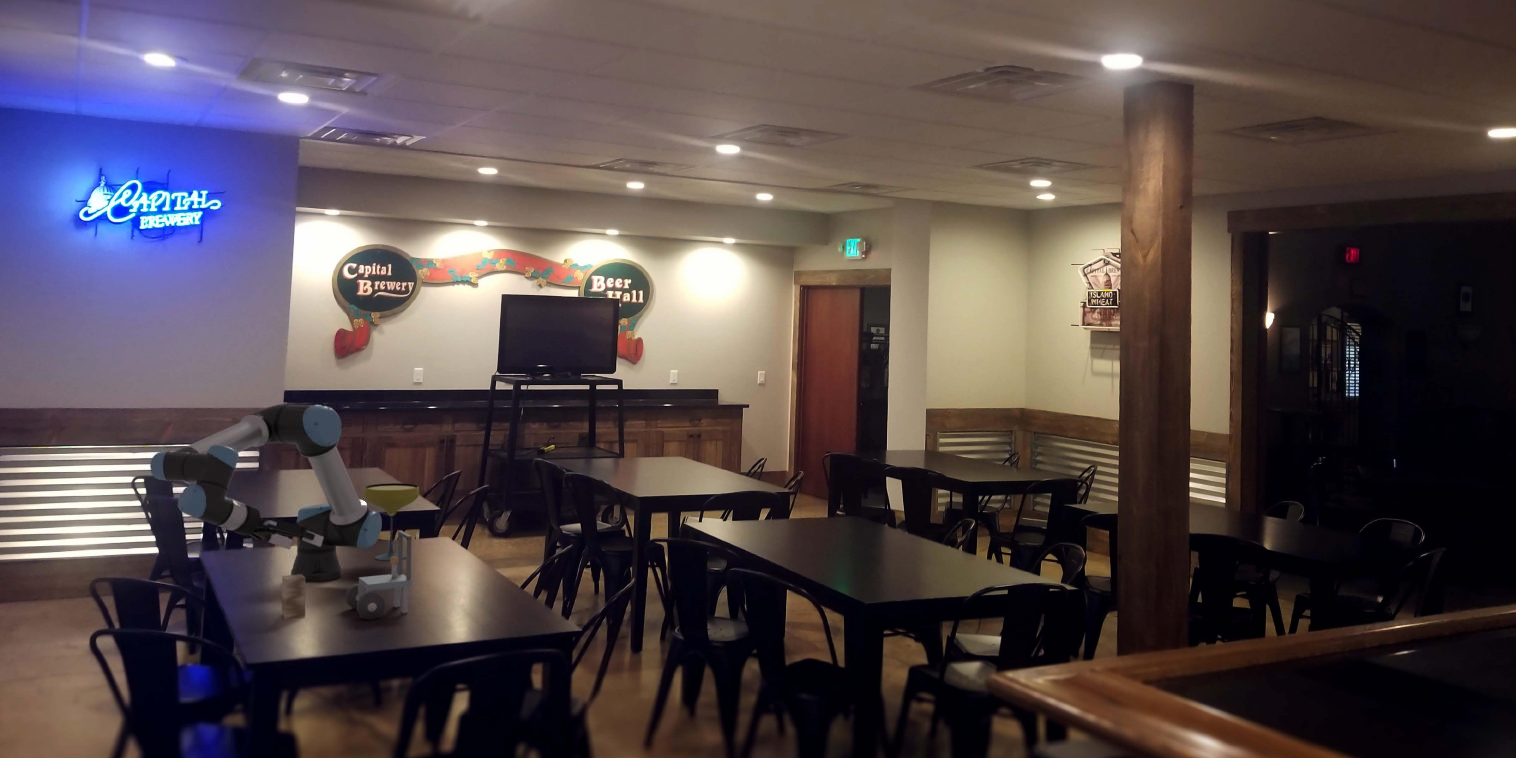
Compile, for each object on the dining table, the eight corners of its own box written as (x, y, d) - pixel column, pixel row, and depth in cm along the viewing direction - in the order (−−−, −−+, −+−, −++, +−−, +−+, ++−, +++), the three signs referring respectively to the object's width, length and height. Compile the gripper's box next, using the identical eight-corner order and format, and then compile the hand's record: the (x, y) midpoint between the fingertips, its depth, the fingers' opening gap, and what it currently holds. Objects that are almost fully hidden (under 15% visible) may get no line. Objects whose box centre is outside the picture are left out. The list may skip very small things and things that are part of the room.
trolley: (358, 621, 296) (359, 542, 295) (345, 608, 309) (346, 533, 308) (414, 614, 304) (415, 537, 304) (398, 602, 317) (399, 529, 316)
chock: (285, 619, 296) (285, 579, 296) (281, 615, 300) (282, 575, 300) (304, 617, 299) (305, 577, 299) (301, 613, 303) (301, 574, 303)
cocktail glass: (397, 550, 392) (398, 481, 391) (428, 557, 382) (429, 486, 381) (352, 557, 378) (353, 486, 377) (384, 565, 367) (385, 491, 366)
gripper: (206, 534, 289) (274, 558, 305) (262, 528, 276) (330, 553, 292) (215, 507, 293) (282, 533, 308) (272, 500, 280) (338, 527, 295)
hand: (306, 543), depth 300 cm, fingers open, 13 cm apart
